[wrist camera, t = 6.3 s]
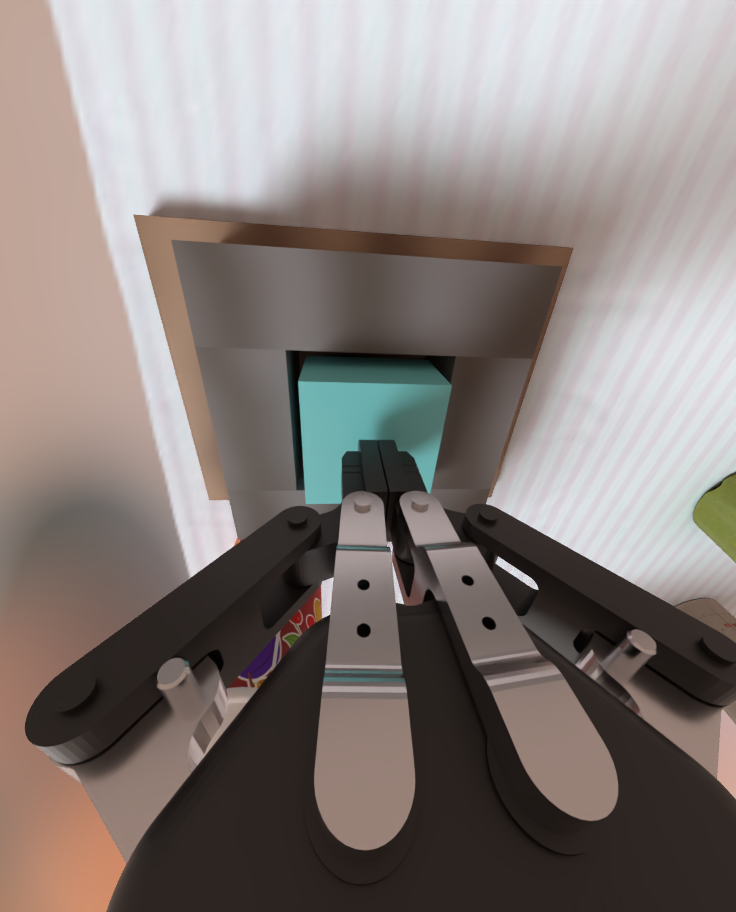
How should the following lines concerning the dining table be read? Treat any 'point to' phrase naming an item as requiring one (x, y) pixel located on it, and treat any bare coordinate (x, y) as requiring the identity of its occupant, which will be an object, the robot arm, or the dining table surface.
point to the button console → (342, 341)
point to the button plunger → (367, 415)
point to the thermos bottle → (713, 626)
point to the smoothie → (268, 660)
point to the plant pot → (719, 516)
